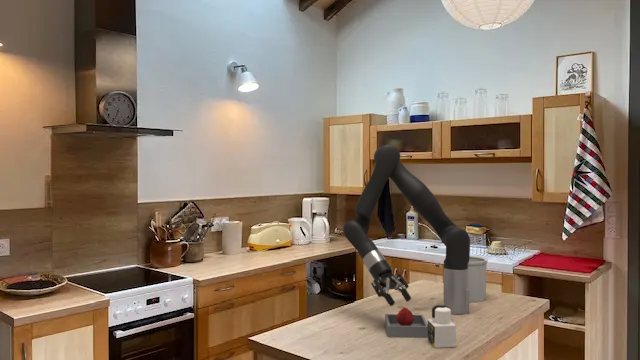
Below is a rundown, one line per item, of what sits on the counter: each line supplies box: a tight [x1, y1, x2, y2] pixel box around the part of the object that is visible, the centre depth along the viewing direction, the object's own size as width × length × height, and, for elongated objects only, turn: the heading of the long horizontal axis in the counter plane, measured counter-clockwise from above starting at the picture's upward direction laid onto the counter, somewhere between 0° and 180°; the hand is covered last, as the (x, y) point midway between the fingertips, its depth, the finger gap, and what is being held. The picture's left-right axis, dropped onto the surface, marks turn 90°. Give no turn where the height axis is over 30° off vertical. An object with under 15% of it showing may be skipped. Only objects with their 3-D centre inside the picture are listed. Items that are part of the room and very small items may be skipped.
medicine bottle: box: [427, 304, 457, 349], centre depth 159 cm, size 7×7×12 cm
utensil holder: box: [468, 254, 488, 303], centre depth 214 cm, size 15×15×18 cm
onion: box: [397, 305, 414, 326], centre depth 172 cm, size 6×6×8 cm
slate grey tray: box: [384, 313, 428, 339], centre depth 172 cm, size 14×14×4 cm
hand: (401, 302), depth 173 cm, fingers open, 8 cm apart
